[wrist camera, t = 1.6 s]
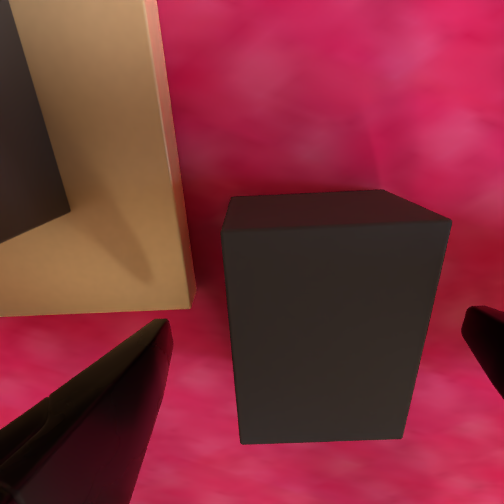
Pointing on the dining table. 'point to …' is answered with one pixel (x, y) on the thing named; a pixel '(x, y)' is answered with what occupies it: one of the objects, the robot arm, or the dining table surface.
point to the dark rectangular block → (328, 311)
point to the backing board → (88, 162)
